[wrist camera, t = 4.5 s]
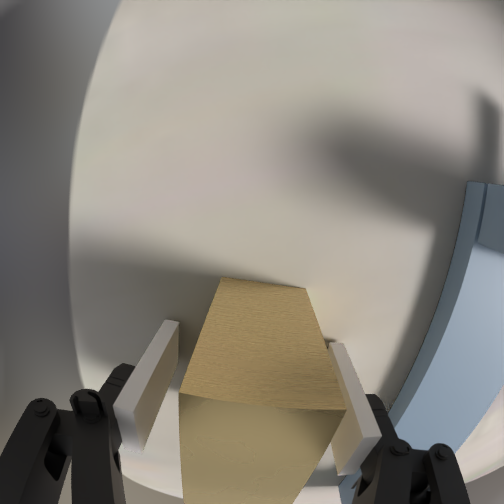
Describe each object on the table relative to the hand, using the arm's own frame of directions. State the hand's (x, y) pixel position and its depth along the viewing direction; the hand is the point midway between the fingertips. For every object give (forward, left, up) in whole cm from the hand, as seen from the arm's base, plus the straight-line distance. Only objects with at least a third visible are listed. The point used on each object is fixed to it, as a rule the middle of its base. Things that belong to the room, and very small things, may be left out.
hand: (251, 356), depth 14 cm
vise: (+2, +15, 0) cm, 15 cm away
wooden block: (0, 0, 0) cm, 0 cm away
